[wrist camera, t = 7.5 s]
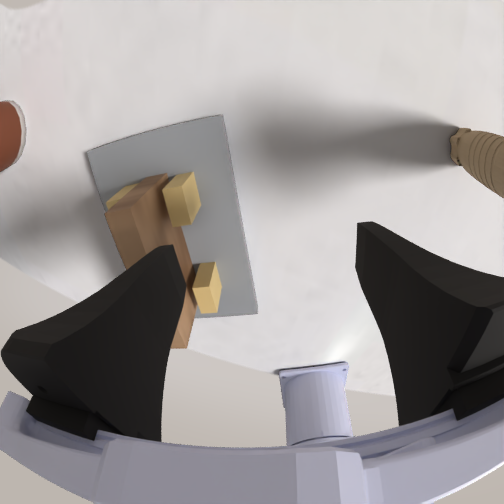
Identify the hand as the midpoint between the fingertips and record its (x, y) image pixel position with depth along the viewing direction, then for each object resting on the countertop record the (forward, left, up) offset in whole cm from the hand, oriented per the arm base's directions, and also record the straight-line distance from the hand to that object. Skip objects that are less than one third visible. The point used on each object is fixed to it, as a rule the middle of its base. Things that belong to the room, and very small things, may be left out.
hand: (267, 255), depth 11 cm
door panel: (-3, +7, -8) cm, 11 cm away
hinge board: (-3, +7, -9) cm, 12 cm away
